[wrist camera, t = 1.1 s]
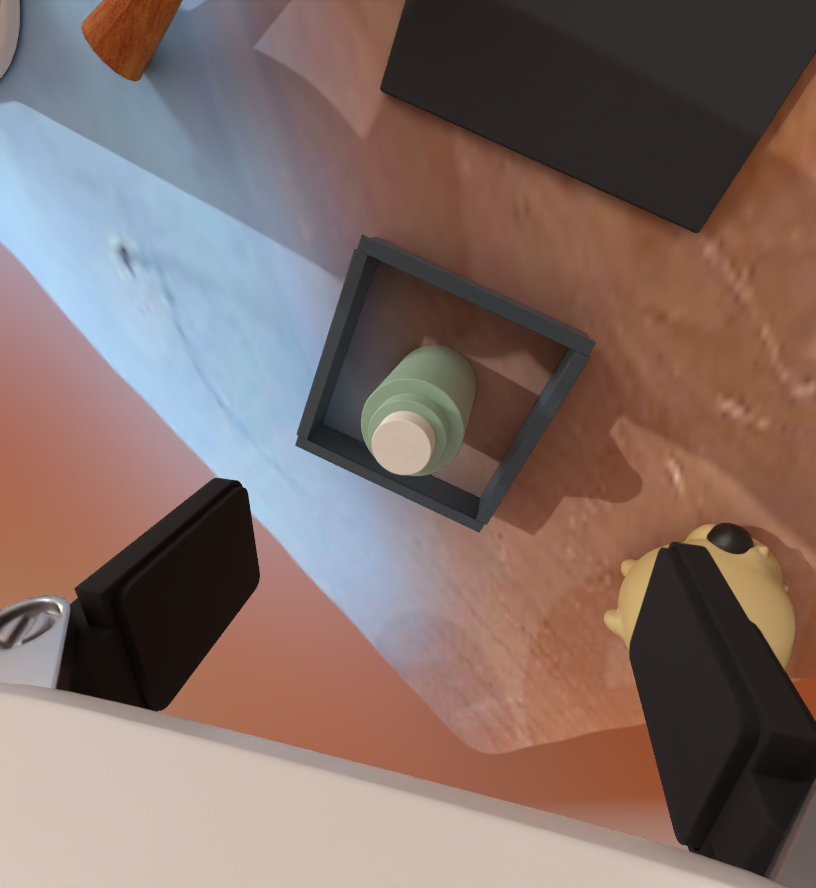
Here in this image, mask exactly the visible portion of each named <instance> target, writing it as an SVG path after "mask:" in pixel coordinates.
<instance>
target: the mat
mask: <svg viewBox="0 0 816 888" xmlns="http://www.w3.org/2000/svg"><path fill="white" fill-rule="evenodd" d="M815 53H816V0H406V1H405V5H404V8H403V12H402V15H401V18H400V22H399V25H398V29H397V32H396V36H395V39H394V43H393V46H392V49H391V53H390V56H389V60H388V63H387V67H386V70H385V73H384V77H383V80H382V84H381V87H380V89H381V91H382V92H385V93H387V94H389V95H391V96H393V97H396V98H398V99H400V100H402V101H404V102H407V103H409V104H411V105H413V106H416V107H418V108H420V109H422V110H424V111H427V112H429V113H431V114H433V115H435V116H438V117H440V118H442V119H444V120H447V121H449V122H451V123H453V124H455V125H458V126H460V127H462V128H464V129H466V130H469V131H471V132H473V133H475V134H477V135H480V136H482V137H484V138H486V139H489V140H491V141H493V142H495V143H497V144H500V145H502V146H504V147H506V148H508V149H511V150H513V151H515V152H517V153H520V154H522V155H524V156H526V157H528V158H531V159H533V160H535V161H537V162H539V163H542V164H544V165H546V166H548V167H551V168H553V169H555V170H557V171H559V172H562V173H564V174H566V175H568V176H570V177H573V178H575V179H577V180H579V181H582V182H584V183H586V184H588V185H590V186H593V187H595V188H597V189H599V190H601V191H604V192H606V193H608V194H610V195H613V196H615V197H617V198H619V199H621V200H624V201H626V202H628V203H630V204H632V205H635V206H637V207H639V208H641V209H644V210H646V211H648V212H650V213H652V214H655V215H657V216H659V217H661V218H663V219H666V220H668V221H670V222H672V223H675V224H677V225H679V226H681V227H683V228H686V229H688V230H690V231H692V232H694V233H699V231H700V230H701V228H702V227H703V225H704V224H705V222H706V221H707V219H708V218H709V216H710V214H711V213H712V211H713V210H714V208H715V207H716V205H717V204H718V202H719V201H720V199H721V198H722V196H723V194H724V193H725V191H726V190H727V188H728V187H729V185H730V184H731V182H732V181H733V179H734V177H735V176H736V174H737V173H738V171H739V170H740V168H741V167H742V165H743V164H744V162H745V161H746V159H747V157H748V156H749V154H750V153H751V151H752V150H753V148H754V147H755V145H756V144H757V142H758V140H759V139H760V137H761V136H762V134H763V133H764V131H765V130H766V128H767V127H768V125H769V124H770V122H771V120H772V119H773V117H774V116H775V114H776V113H777V111H778V110H779V108H780V107H781V105H782V103H783V102H784V100H785V99H786V97H787V96H788V94H789V93H790V91H791V90H792V88H793V87H794V85H795V83H796V82H797V80H798V79H799V77H800V76H801V74H802V73H803V71H804V70H805V68H806V66H807V65H808V63H809V62H810V60H811V59H812V57H813V56H814V54H815Z"/></svg>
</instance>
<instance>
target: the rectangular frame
mask: <svg viewBox="0 0 816 888" xmlns="http://www.w3.org/2000/svg"><path fill="white" fill-rule="evenodd" d="M378 260H380V261H382V262H384V263H386V264H388V265H390V266H393V267H395V268H397V269H399V270H401V271H403V272H406V273H408V274H410V275H412V276H414V277H416V278H419V279H421V280H423V281H425V282H427V283H429V284H432V285H434V286H436V287H438V288H440V289H442V290H445V291H447V292H449V293H451V294H453V295H456V296H458V297H460V298H462V299H464V300H466V301H469V302H471V303H473V304H475V305H477V306H479V307H482V308H484V309H486V310H488V311H490V312H492V313H495V314H497V315H499V316H501V317H503V318H505V319H508V320H510V321H512V322H514V323H516V324H518V325H521V326H523V327H525V328H527V329H529V330H531V331H534V332H536V333H538V334H540V335H542V336H544V337H547V338H549V339H551V340H553V341H555V342H557V343H560V344H562V345H564V346H566V347H568V349H567V351H566V353H565V354H564V356H563V358H562V359H561V361H560V363H559V364H558V366H557V368H556V370H555V371H554V373H553V375H552V376H551V378H550V380H549V382H548V383H547V385H546V387H545V388H544V390H543V392H542V393H541V395H540V397H539V399H538V400H537V402H536V404H535V405H534V407H533V409H532V411H531V412H530V414H529V416H528V417H527V419H526V421H525V422H524V424H523V426H522V428H521V429H520V431H519V433H518V434H517V436H516V438H515V440H514V441H513V443H512V445H511V446H510V448H509V450H508V451H507V453H506V455H505V457H504V458H503V460H502V462H501V463H500V465H499V467H498V469H497V470H496V472H495V474H494V475H493V477H492V479H491V480H490V482H489V484H488V486H487V487H486V489H485V491H484V492H483V494H482V496H481V498H477V497H475V496H473V495H471V494H469V493H467V492H465V491H463V490H461V489H458V488H456V487H454V486H452V485H450V484H448V483H446V482H444V481H441V480H439V479H437V478H435V477H433V476H431V475H424V476H409V475H399V474H395V473H392V472H390V471H388V470H386V469H385V468H383V467H382V466H381V465H380V464H379V463H378V461H377V460H376V458H375V457H374V456H373V455H372V453H371V452H370V451H369V449H368V447H367V446H366V445H365V444H363V443H361V442H359V441H357V440H354V439H352V438H350V437H348V436H346V435H344V434H342V433H340V432H337V431H335V430H333V429H331V428H329V427H327V426H325V425H323V424H322V423H323V420H324V417H325V414H326V411H327V408H328V405H329V402H330V399H331V396H332V393H333V391H334V388H335V385H336V382H337V379H338V376H339V373H340V370H341V367H342V364H343V361H344V358H345V355H346V352H347V349H348V346H349V343H350V340H351V338H352V335H353V332H354V329H355V326H356V323H357V320H358V317H359V314H360V311H361V308H362V305H363V302H364V299H365V296H366V293H367V290H368V287H369V285H370V282H371V279H372V276H373V273H374V270H375V267H376V264H377V261H378ZM595 343H596V342H595V341H593V340H591V339H590V338H589V337H588V335H587V334H586V333H584V332H582V331H580V330H577V329H575V328H573V327H571V326H569V325H567V324H564V323H562V322H560V321H558V320H556V319H553V318H551V317H549V316H547V315H545V314H543V313H540V312H538V311H536V310H534V309H532V308H530V307H527V306H525V305H523V304H521V303H519V302H517V301H514V300H512V299H510V298H508V297H506V296H503V295H501V294H499V293H497V292H495V291H493V290H490V289H488V288H486V287H484V286H482V285H480V284H477V283H475V282H473V281H471V280H469V279H466V278H464V277H462V276H460V275H458V274H456V273H453V272H451V271H449V270H447V269H445V268H443V267H440V266H438V265H436V264H434V263H432V262H430V261H427V260H425V259H423V258H421V257H419V256H416V255H414V254H412V253H410V252H408V251H406V250H403V249H401V248H399V247H397V246H395V245H393V244H390V243H388V242H386V241H384V240H382V239H379V238H377V237H374V238H369V237H367V236H365V235H362V236H361V239H360V242H359V245H358V248H357V249H355V250H354V253H353V256H352V259H351V262H350V265H349V269H348V272H347V275H346V278H345V281H344V285H343V288H342V291H341V294H340V297H339V301H338V304H337V307H336V310H335V313H334V317H333V320H332V323H331V326H330V329H329V333H328V336H327V339H326V342H325V345H324V349H323V352H322V355H321V358H320V361H319V365H318V368H317V371H316V374H315V377H314V381H313V384H312V387H311V390H310V393H309V397H308V400H307V403H306V406H305V409H304V413H303V416H302V419H301V422H300V425H299V429H298V432H297V435H298V438H297V442H296V445H295V446H297V447H299V448H302V449H304V450H306V451H308V452H310V453H312V454H314V455H316V456H318V457H321V458H323V459H325V460H327V461H329V462H331V463H333V464H335V465H338V466H340V467H342V468H344V469H346V470H348V471H350V472H352V473H354V474H357V475H359V476H361V477H363V478H365V479H367V480H369V481H371V482H373V483H376V484H378V485H380V486H382V487H384V488H386V489H388V490H390V491H392V492H395V493H397V494H399V495H401V496H403V497H405V498H407V499H409V500H411V501H414V502H416V503H418V504H420V505H422V506H424V507H426V508H428V509H430V510H433V511H435V512H437V513H439V514H441V515H443V516H445V517H447V518H450V519H452V520H454V521H456V522H458V523H460V524H462V525H464V526H466V527H469V528H471V529H473V530H475V531H477V532H480V531H481V529H482V528H483V526H484V524H486V525H487V523H488V522H489V520H490V518H491V517H492V515H493V514H494V512H495V510H496V509H497V507H498V506H499V504H500V502H501V501H502V499H503V497H504V496H505V494H506V493H507V491H508V489H509V488H510V486H511V484H512V483H513V481H514V480H515V478H516V476H517V475H518V473H519V471H520V470H521V468H522V467H523V465H524V463H525V462H526V460H527V459H528V457H529V455H530V454H531V452H532V450H533V449H534V447H535V446H536V444H537V442H538V441H539V439H540V437H541V436H542V434H543V433H544V431H545V429H546V428H547V426H548V425H549V423H550V421H551V420H552V418H553V416H554V415H555V413H556V412H557V410H558V408H559V407H560V405H561V403H562V402H563V400H564V399H565V397H566V395H567V394H568V392H569V390H570V389H571V387H572V386H573V384H574V382H575V381H576V379H577V378H578V376H579V374H580V373H581V371H582V369H583V368H584V366H585V365H586V363H587V361H588V360H589V356H588V355H589V353H590V352H591V350H592V348H593V347H594V345H595Z"/></svg>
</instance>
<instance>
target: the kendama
mask: <svg viewBox="0 0 816 888" xmlns="http://www.w3.org/2000/svg"><path fill="white" fill-rule="evenodd" d="M181 2H182V0H103V1H102V2H101V4H100V5H99V6H98V7H97V8H96V9H95V10H94V11H93V12H92V13H91V14H90V15H89V16H88V17H87V19H86V20H85V21H84V22H83V24H82V31H83V34H84V37H85V39H86V40H87V42H88V43H89V45H90V46H91V48H92V49H93V51H94V52H95V53H96V54H97V55H98V56H99V57H100V59H101V60H102V61H103V62H104V63H105V64H106V65H108V66H109V67H110V68H111V69H112V70H113V71H115V72H116V73H118V74H119V75H121V76H122V77H124V78H126V79H128V80H131V81H138V80H140V79H141V77H142V75H143V73H144V71H145V69H146V67H147V65H148V64H149V62H150V60H151V58H152V56H153V54H154V52H155V51H156V49H157V47H158V45H159V43H160V41H161V39H162V38H163V36H164V34H165V32H166V30H167V28H168V26H169V25H170V23H171V21H172V19H173V17H174V15H175V13H176V11H177V10H178V8H179V6H180V4H181Z"/></svg>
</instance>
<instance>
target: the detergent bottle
mask: <svg viewBox="0 0 816 888" xmlns="http://www.w3.org/2000/svg"><path fill="white" fill-rule="evenodd" d="M475 394H476V377H475V374H474V371H473V369H472V367H471V365H470V364H469V362H468V361H467V360H466V358H464V357H463V356H462V355H461V354H460V353H459V352H457V351H455V350H454V349H452V348H449V347H446V346H442V345H427V346H423V347H419V348H417V349H415V350H413V351H412V352H410V353H409V354H408V355H407V356H406V357H405V358H404V359H403V360H402V361H401V362H400V363H399V365H398V366H397V367H396V368H395V369H394V370H393V371H392V372H391V373H390V374H389V376H388V377H387V378H386V379H385V380H384V381H383V382H382V383H381V384H380V385H379V387H378V388H377V389H376V390H375V391H374V392H373V393H372V394H371V395H370V397H369V398H368V400H367V401H366V403H365V405H364V408H363V411H362V416H361V431H362V435H363V439H364V441H365V444H366V446H367V447H368V449H369V451H370V452H371V453H372V455H373V456H374V457H375V458H376V460H377V461H378V463H379V464H380V465H381V466H382V467H383V468H385V469H386V470H388V471H390V472H392V473H395V474H399V475H409V476H424V475H429V474H433V473H436V472H438V471H440V470H442V469H444V468H445V467H446V466H448V465H449V464H450V463H451V462H452V461H453V460H454V459H455V458H456V456H457V454H458V453H459V451H460V449H461V446H462V443H463V439H464V436H465V432H466V428H467V424H468V421H469V417H470V413H471V409H472V406H473V402H474V398H475Z"/></svg>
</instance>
